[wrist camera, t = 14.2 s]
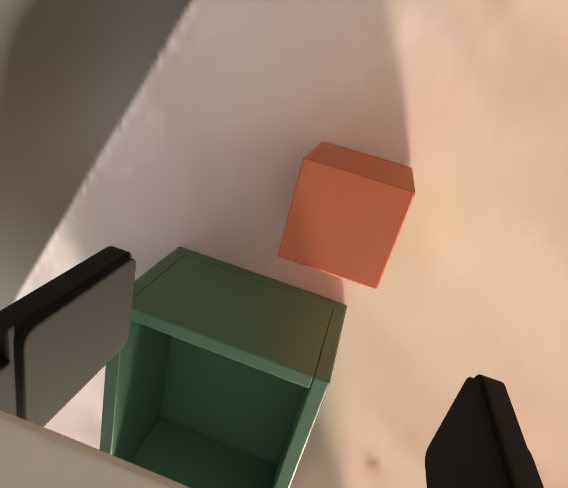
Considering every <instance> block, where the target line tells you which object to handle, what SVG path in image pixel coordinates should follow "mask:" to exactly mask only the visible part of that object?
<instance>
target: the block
mask: <svg viewBox="0 0 568 488" xmlns="http://www.w3.org/2000/svg"><path fill="white" fill-rule="evenodd" d="M414 195H415V187H414V180H413V172H412V168H410V167H407V166H403V165H400V164H397V163H393V162H390V161H387V160H383V159H380V158H377V157H373V156H370V155H367V154H363V153H360V152H356V151H353V150H350V149H346V148H343V147H340V146H336V145H333V144H330V143H326V142H322V143H320V144H319V145H318V146H317V147H316V148H315V149H314V150H312V151H311V152H310V153H309V154H308V155H307V156H306V157H304V159H303V162H302V166H301V170H300V173H299V177H298V181H297V185H296V188H295V192H294V196H293V200H292V203H291V207H290V211H289V215H288V218H287V222H286V226H285V230H284V234H283V237H282V241H281V245H280V249H279V252H278V256H279V257H282V258H285V259H288V260H291V261H294V262H297V263H300V264H303V265H306V266H308V267H311V268H314V269H317V270H320V271H323V272H326V273H329V274H332V275H335V276H338V277H341V278H344V279H346V280H349V281H352V282H355V283H358V284H361V285H364V286H367V287H370V288H373V289H377V288H378V285H379V283H380V280H381V278H382V275H383V273H384V270H385V268H386V265H387V263H388V260H389V258H390V255H391V253H392V250H393V248H394V245H395V243H396V240H397V238H398V235H399V233H400V230H401V228H402V225H403V223H404V220H405V218H406V215H407V213H408V210H409V208H410V205H411V203H412V200H413V198H414Z"/></svg>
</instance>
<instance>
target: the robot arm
mask: <svg viewBox="0 0 568 488" xmlns="http://www.w3.org/2000/svg"><path fill="white" fill-rule="evenodd" d="M135 268H136V262H135V260H134V259H132V256H131V253H130V252H127V251H124V250H121V249H119V248H116V247H113V246H109V247H107V248H105V249H103V250H102V251H100V252H98V253H97V254H95V255H93V256H91V257H90V258H88V259H86V260H85V261H83V262H81V263H80V264H78V265H76V266H75V267H73V268H71V269H70V270H68V271H66V272H65V273H63V274H61V275H60V276H58V277H56V278H55V279H53V280H51V281H50V282H48V283H46V284H44V285H43V286H41V287H39V288H38V289H36V290H34V291H33V292H31V293H29V294H28V295H26V296H24V297H23V298H21V299H19V300H18V301H16V302H14V303H13V304H11V305H9V306H8V307H6V308H4V309H3V310H1V311H0V488H190V487H188V486H185V485H183V484H180V483H178V482H176V481H173V480H171V479H168V478H166V477H164V476H161V475H159V474H156V473H154V472H152V471H149V470H147V469H144V468H142V467H139V466H137V465H135V464H132V463H130V462H127V461H125V460H122V459H120V458H118V457H115V456H113V455H110V454H108V453H105V452H103V451H101V450H98V449H96V448H93V447H91V446H88V445H86V444H84V443H81V442H79V441H76V440H74V439H71V438H69V437H67V436H64V435H62V434H59V433H57V432H54V431H52V430H49V429H47V428H44V426H45V425H46V424H47V423H48V422H49V421H50V420H51V419H52V418H53V417H54V416H55V415H56V414H57V413H58V412H59V411H60V410H61V409H62V408H63V407H64V406H65V405H66V404H67V403H68V402H69V401H70V400H71V399H72V398H73V397H74V396H75V395H76V394H77V393H78V392H79V391H80V390H81V389H82V388H83V387H84V386H85V385H86V384H87V383H88V382H89V381H90V380H91V379H92V378H93V377H94V376H95V375H96V374H97V373H98V372H99V371H100V370H101V369H102V368H103V367H104V366H105V365H106V364H107V363H108V362H109V361H110V360H111V359H112V358H113V357H114V356H115V355H116V354H117V353H118V352H119V351H120V350H121V349H122V348H123V347H124V345H125V344H126V342H127V340H128V337H129V329H130V319H131V309H132V299H133V288H134V278H135ZM425 469H426V482H427V488H544V487H543V484H542V482H541V479H540V476H539V473H538V471H537V468H536V465H535V462H534V460H533V457H532V455H531V453H530V451H529V450H528V448H527V446H526V443H525V440H524V437H523V434H522V432H521V429H520V426H519V423H518V421H517V418H516V415H515V412H514V409H513V407H512V404H511V401H510V398H509V396H508V393H507V390H506V387H505V385H504V383H502V382H500V381H497V380H495V379H492V378H489V377H486V376H483V375H480V374H479V375H477V376H476V377H475V378H471V377H468V378H467V379H466V381H465V383H464V384H463V386H462V388H461V390H460V391H459V393H458V395H457V397H456V399H455V400H454V402H453V404H452V406H451V407H450V409H449V411H448V413H447V415H446V416H445V418H444V420H443V422H442V423H441V425H440V427H439V429H438V431H437V432H436V434H435V436H434V438H433V439H432V441H431V443H430V445H429V447H428V449H427V452H426V456H425Z"/></svg>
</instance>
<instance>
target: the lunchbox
mask: <svg viewBox="0 0 568 488" xmlns="http://www.w3.org/2000/svg"><path fill="white" fill-rule="evenodd" d="M346 308H347V306H346V305H344V304H341V303H338V302H335V301H333V300H330V299H327V298H324V297H321V296H318V295H316V294H313V293H310V292H307V291H304V290H301V289H298V288H296V287H293V286H290V285H287V284H284V283H281V282H278V281H276V280H273V279H270V278H267V277H264V276H261V275H258V274H256V273H253V272H250V271H247V270H244V269H241V268H238V267H236V266H233V265H230V264H227V263H224V262H221V261H218V260H216V259H213V258H210V257H207V256H204V255H201V254H198V253H196V252H193V251H190V250H187V249H184V248H181V247H178V248H177V249H176V250H174V251H173V252H171V253H170V254H169V255H168V256H166V257H165V258H164V259H163V260H161V261H160V262H159V263H157V264H156V265H155V266H154V267H152V268H151V269H150V270H148V271H147V272H146V273H145V274H143V275H142V276H141V277H140V278H138V279H137V280H136V281H134V288H133V299H132V309H131V319H130V329H129V337H128V340H127V342H126V344H125V345H124V347H123V348H122V349H121V350H120V351H119V352H118V353H117V354H116V355H115V356H114V357H113V358H112V359H111V360H110V361H109V362H108V363H107V364H106V370H105V384H104V398H103V412H102V426H101V440H100V450H101V451H103V452H105V453H108V454H110V455H113V456H115V457H118V458H120V459H122V460H125V461H127V462H130V463H132V464H135V465H137V466H139V467H142V468H144V469H147V470H149V471H152V472H154V473H156V474H159V475H161V476H164V477H166V478H168V479H171V480H173V481H176V482H178V483H180V484H183V485H185V486H188V487H190V488H290V485H291V482H292V480H293V477H294V475H295V472H296V469H297V467H298V464H299V462H300V459H301V456H302V454H303V451H304V449H305V446H306V443H307V441H308V438H309V436H310V433H311V430H312V428H313V425H314V423H315V420H316V417H317V415H318V412H319V410H320V407H321V405H322V402H323V399H324V397H325V394H326V392H327V389H328V386H329V384H330V380H331V375H332V371H333V366H334V362H335V357H336V353H337V348H338V344H339V340H340V335H341V331H342V326H343V322H344V317H345V313H346Z"/></svg>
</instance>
